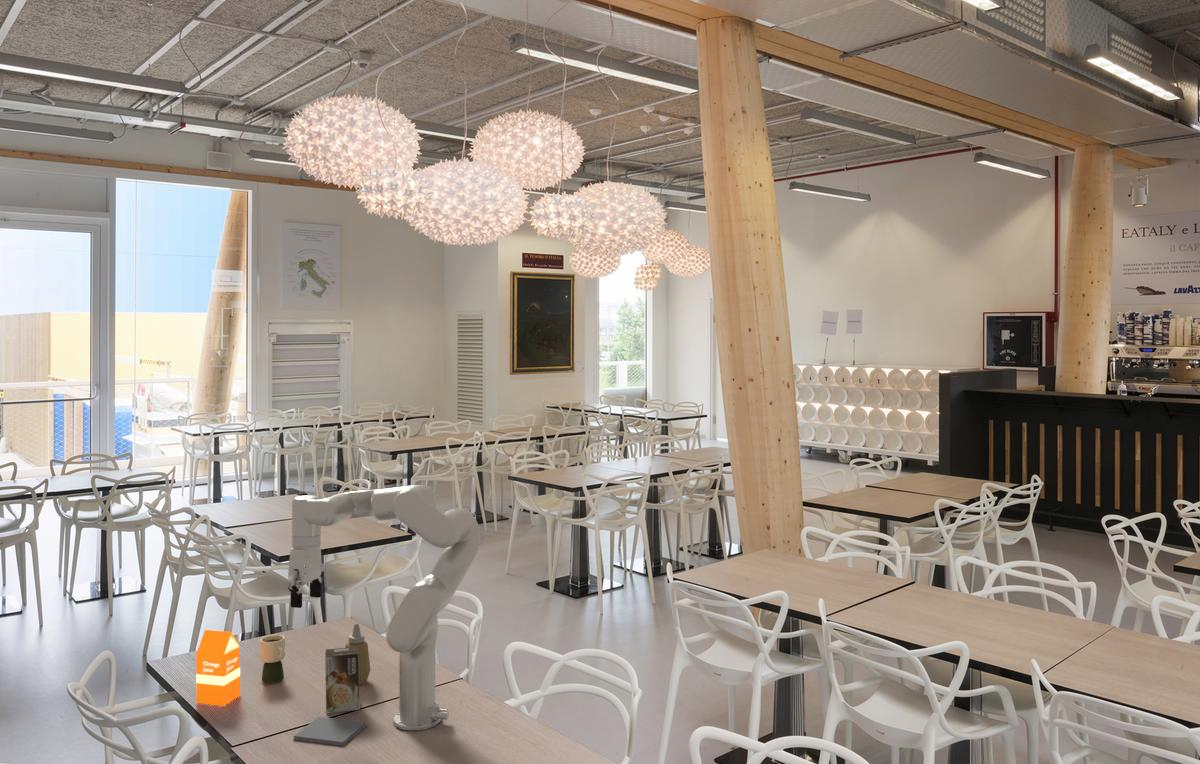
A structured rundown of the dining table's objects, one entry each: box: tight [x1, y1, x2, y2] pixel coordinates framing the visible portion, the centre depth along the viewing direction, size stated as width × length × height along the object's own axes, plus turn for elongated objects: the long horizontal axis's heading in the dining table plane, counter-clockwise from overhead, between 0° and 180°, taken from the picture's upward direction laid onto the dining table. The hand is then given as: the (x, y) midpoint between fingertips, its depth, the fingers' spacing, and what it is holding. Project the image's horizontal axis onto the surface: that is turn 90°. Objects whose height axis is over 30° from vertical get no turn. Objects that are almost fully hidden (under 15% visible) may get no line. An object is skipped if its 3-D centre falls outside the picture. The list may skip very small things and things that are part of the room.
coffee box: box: [324, 647, 361, 713], centre depth 244 cm, size 9×6×16 cm
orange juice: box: [195, 629, 241, 707], centre depth 248 cm, size 8×9×20 cm
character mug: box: [259, 634, 286, 683], centre depth 263 cm, size 11×7×13 cm, turn 52°
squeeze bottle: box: [344, 622, 371, 686], centre depth 262 cm, size 8×8×18 cm
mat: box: [293, 716, 367, 747], centre depth 229 cm, size 14×12×1 cm
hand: (306, 602), depth 241 cm, fingers open, 9 cm apart
